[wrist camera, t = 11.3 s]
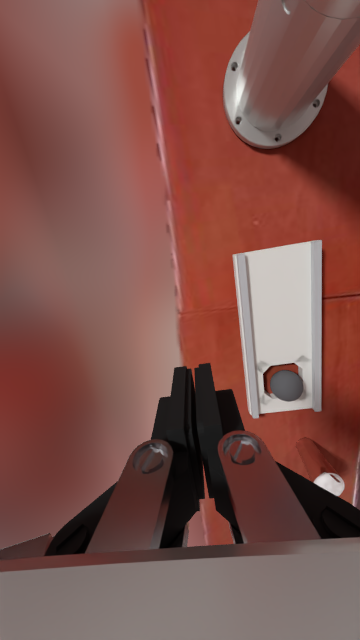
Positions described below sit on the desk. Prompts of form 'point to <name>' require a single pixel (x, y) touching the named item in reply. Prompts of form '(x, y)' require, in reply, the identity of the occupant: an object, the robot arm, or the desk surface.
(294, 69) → the robot arm
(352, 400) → the desk surface
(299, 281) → the tray
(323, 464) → the milkshake
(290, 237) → the desk surface
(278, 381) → the ball
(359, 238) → the desk surface
